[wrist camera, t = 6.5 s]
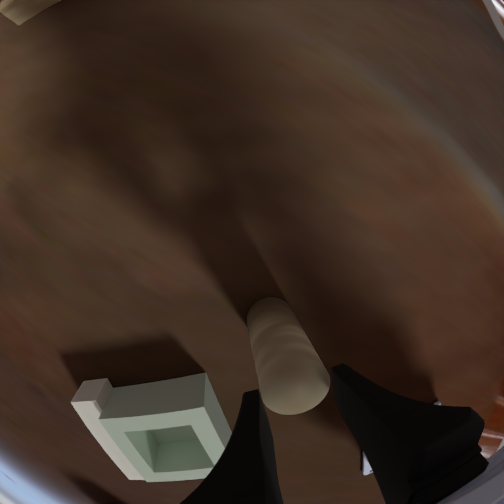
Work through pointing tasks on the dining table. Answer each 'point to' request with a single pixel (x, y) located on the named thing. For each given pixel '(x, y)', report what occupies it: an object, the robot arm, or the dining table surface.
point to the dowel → (285, 359)
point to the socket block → (168, 427)
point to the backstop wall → (89, 409)
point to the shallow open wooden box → (24, 9)
